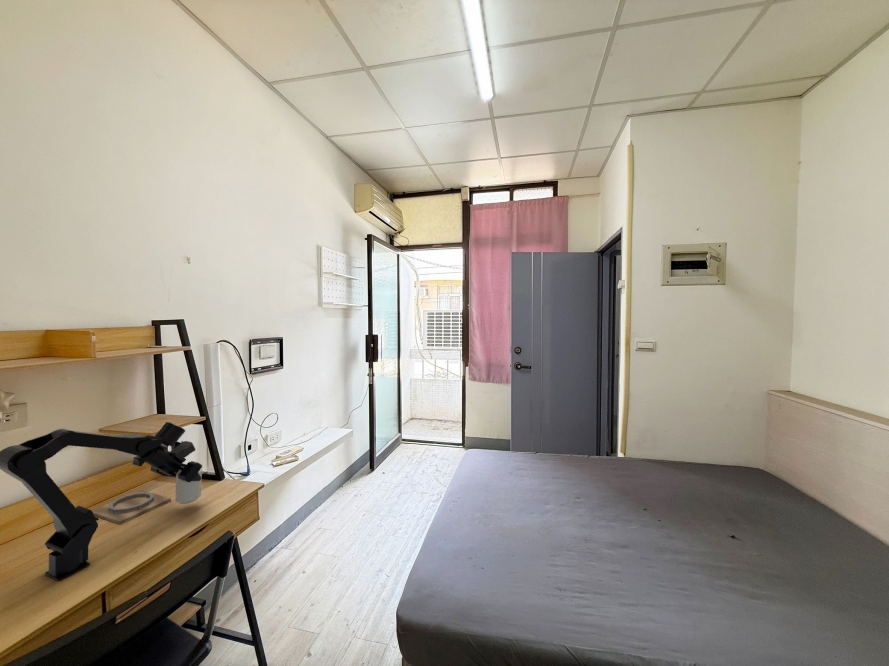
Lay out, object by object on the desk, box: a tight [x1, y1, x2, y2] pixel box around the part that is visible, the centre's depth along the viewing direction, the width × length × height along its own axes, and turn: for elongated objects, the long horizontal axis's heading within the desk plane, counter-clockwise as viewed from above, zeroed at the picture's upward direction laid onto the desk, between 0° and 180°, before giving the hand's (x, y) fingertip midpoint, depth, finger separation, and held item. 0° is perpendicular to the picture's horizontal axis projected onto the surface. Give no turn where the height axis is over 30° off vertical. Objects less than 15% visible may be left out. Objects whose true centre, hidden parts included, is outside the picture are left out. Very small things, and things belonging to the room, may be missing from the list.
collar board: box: [91, 490, 172, 526], centre depth 124 cm, size 16×16×3 cm
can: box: [175, 468, 203, 505], centre depth 123 cm, size 8×8×12 cm
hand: (193, 477), depth 124 cm, fingers closed on can, 7 cm apart
